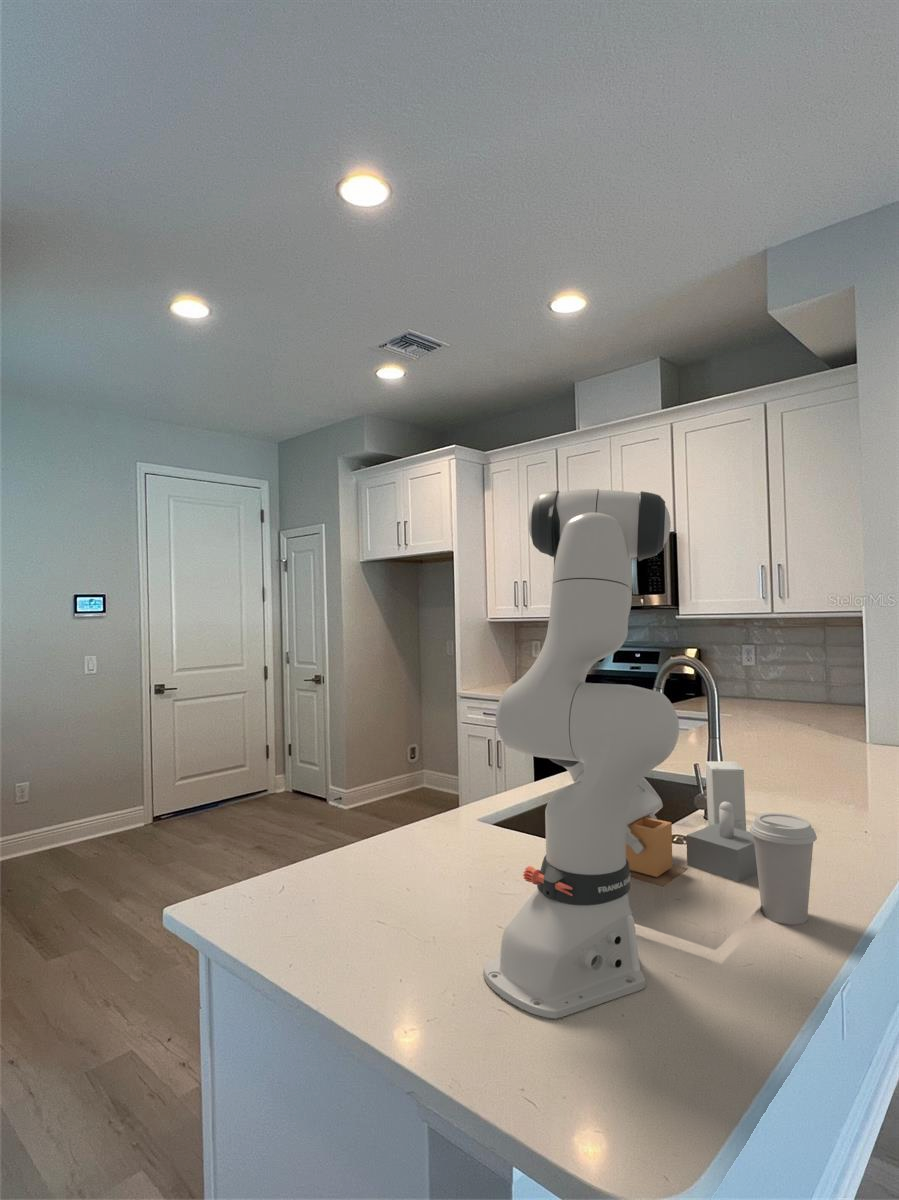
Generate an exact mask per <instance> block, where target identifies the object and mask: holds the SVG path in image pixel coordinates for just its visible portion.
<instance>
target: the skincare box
mask: <svg viewBox="0 0 899 1200" xmlns="http://www.w3.org/2000/svg"><path fill="white" fill-rule="evenodd" d="M704 766H705V767H704V768H705V783H706V784H705V785H706V806H707V808H706V809H707V827H709V826H712V825H714V824H717V823H718V824H720V820H719V806H720V804H721V803H722V802H729V803H731V804H732V806H733V809H734V828H736V829H740V830H744V831H747V819H746V818H747V817H746V812H747V811H746V793H745V792H746V791H745V790H746V789H745V771H744V770H745V769H744V768H743V767H742V766H740V765H739V763H738V762H737V761H734V760H731V761H727V760H725V761H718V760H717V761H714V760H713V761H712V760H711V761H710V760H709V761H707V760H706V761H705V765H704Z"/></svg>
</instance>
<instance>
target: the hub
mask: <svg viewBox="0 0 899 1200" xmlns="http://www.w3.org/2000/svg"><path fill="white" fill-rule="evenodd" d="M719 820H720V824H718V823H717V824H714V825H712V826H709V827H708V826H707V827H704V828H701V829H699V830H696V831H693V832H690V833H688V834H686V866H688V867H691V868H694V869H696V870H699V871H703V872H706V873H709V874H711V875H714V876H718V877H721V878H724V879H726V880H730V881H733V882H735V883H740V882H742V881H745V880H746V879H749V878H750V877H753V876H755V875H756V874H757V875H758V872H757V863H756V854H755V846H754V837H753V834H751V832H750V831H747V830H746V831H744V830H740V829H736V828H734V809H733V806H732V804H731V803H729V802H722V803H721V804H720V806H719Z"/></svg>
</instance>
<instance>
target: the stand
mask: <svg viewBox="0 0 899 1200" xmlns="http://www.w3.org/2000/svg"><path fill="white" fill-rule="evenodd" d="M688 869H689V868H688V867H684V866H681V865H676V864H673V863H672V867H671V868H670V869H668V870H667V871H665V872H664V873H662V874H661V875H659V876H658V877H655V876H651V875H647V874H644V873H640V872H637V871H633V870H630V873H631V878H632V879H636V880H639V881H642V882H647V883H650V884H653V885H657V886H660V887H665V886H667V885H668V884H670V882H672V881H673V880H675V879H676V878H677V877H679V876H680V875H682V874H683V873H684V872H686V871H687V870H688Z"/></svg>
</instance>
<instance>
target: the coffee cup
mask: <svg viewBox="0 0 899 1200" xmlns="http://www.w3.org/2000/svg"><path fill="white" fill-rule="evenodd" d="M749 832H751V834H753V837H754V846H755V854H756V863H757V872H758V873H757V879H758V889H759V897H760V904H761V905H760V907H761V914H762V915H763V916H764V917H765V918H766V919H768V920H770V921H771V922H774V923H778V924H783V925H788V926H790V925H791V926H793V925H794V926H798V925H803V924H804V923H806V922H807V921H808V914H809V913H808V912H809V903H810V902H809V901H810V887H811V876H812V873H811V872H812V863H813V862H812V861H813V859H812V858H813V849H814V842H816V841H817V840H818V839H817V838H818V837H817V833H816V831H815V829H814V828H813V827H812V824H811V822H810V821H809V820H807V818H804V817H801V816H798V815H794V814H790V813H781V812H765V813H760V814H756V816H755V817H754V820H753V822H752V823H751V825H750V827H749Z"/></svg>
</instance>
